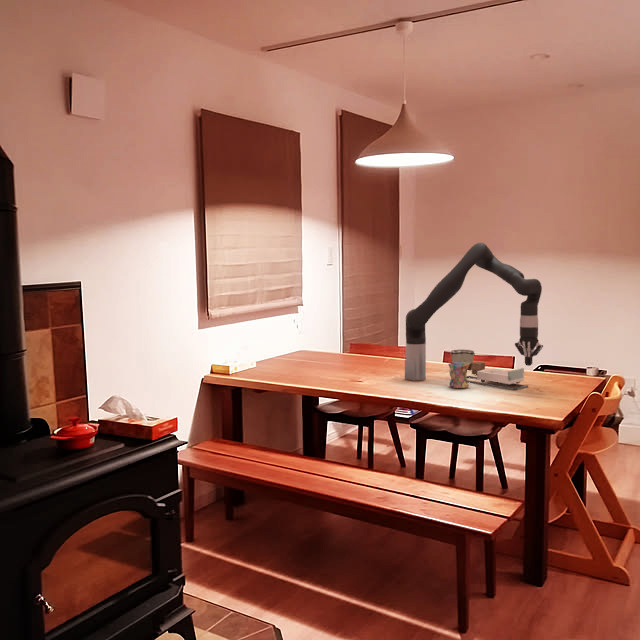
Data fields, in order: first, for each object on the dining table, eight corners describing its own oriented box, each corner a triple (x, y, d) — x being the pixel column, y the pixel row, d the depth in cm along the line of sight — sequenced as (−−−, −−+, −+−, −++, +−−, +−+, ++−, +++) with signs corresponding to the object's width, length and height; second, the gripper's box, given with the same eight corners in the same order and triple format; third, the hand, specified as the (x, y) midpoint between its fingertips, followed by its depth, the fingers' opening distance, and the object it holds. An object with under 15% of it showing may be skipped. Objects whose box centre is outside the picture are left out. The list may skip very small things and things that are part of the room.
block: (479, 375, 312) (479, 363, 311) (471, 374, 315) (471, 362, 314) (485, 374, 314) (485, 362, 314) (477, 373, 318) (477, 361, 317)
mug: (455, 384, 293) (455, 361, 292) (473, 386, 286) (473, 363, 285) (440, 388, 284) (440, 364, 283) (459, 391, 278) (459, 367, 276)
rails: (515, 390, 277) (515, 388, 277) (455, 380, 302) (455, 378, 302) (528, 387, 284) (528, 385, 284) (468, 377, 308) (468, 375, 308)
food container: (473, 368, 331) (473, 349, 330) (474, 370, 325) (474, 351, 324) (448, 368, 332) (448, 349, 331) (450, 370, 326) (450, 351, 325)
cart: (509, 387, 279) (509, 371, 278) (477, 382, 292) (477, 366, 291) (523, 383, 286) (524, 368, 285) (491, 378, 299) (491, 363, 298)
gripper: (510, 325, 278) (510, 364, 280) (538, 327, 268) (537, 368, 270) (520, 323, 283) (519, 362, 285) (547, 325, 273) (547, 366, 275)
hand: (528, 365), depth 277 cm, fingers closed
